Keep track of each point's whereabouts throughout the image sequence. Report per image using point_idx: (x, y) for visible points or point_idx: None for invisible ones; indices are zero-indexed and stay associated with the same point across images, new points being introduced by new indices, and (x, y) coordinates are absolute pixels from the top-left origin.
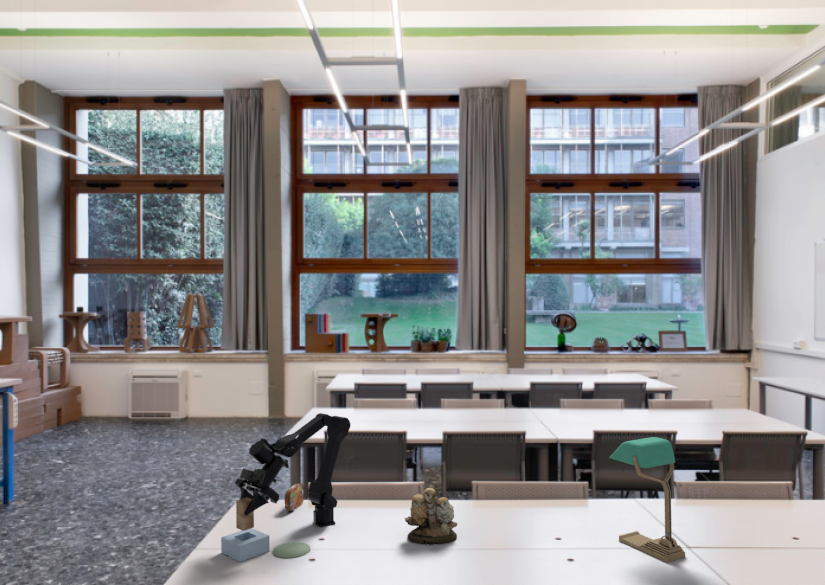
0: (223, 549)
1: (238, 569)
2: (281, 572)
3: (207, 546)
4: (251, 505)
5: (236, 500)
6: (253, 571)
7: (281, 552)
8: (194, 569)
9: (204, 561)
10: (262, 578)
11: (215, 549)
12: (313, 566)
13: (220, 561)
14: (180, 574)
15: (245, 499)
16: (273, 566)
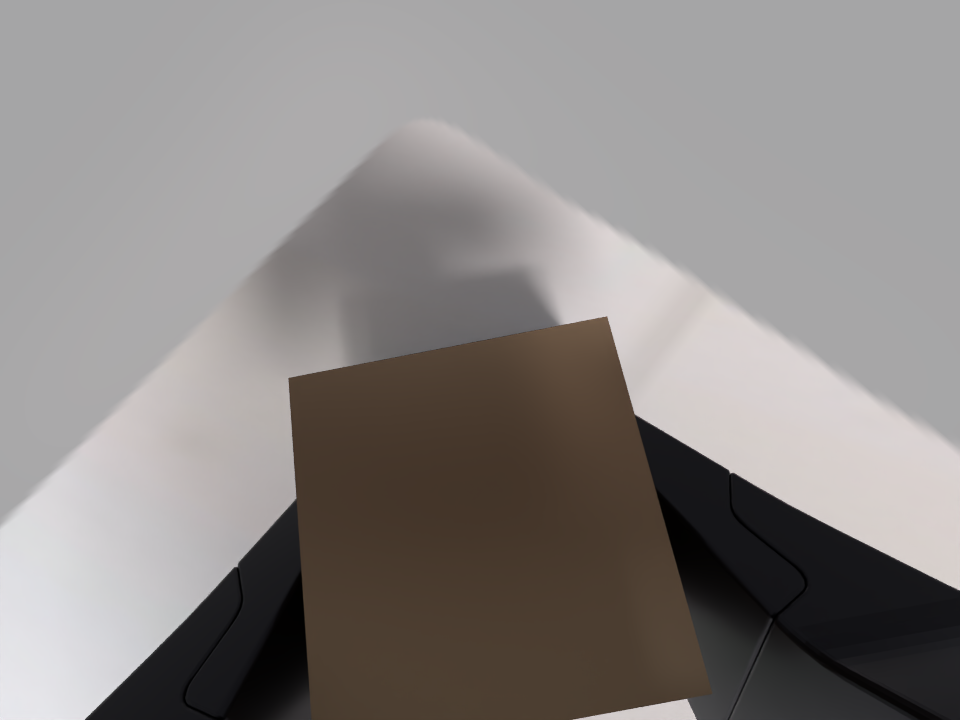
0: None
1: (306, 344)
2: (104, 510)
3: (715, 318)
4: (249, 570)
5: (592, 319)
6: (228, 395)
7: None
8: (455, 184)
9: (516, 244)
10: (127, 398)
11: (642, 339)
12: (13, 715)
13: (462, 306)
14: (445, 126)
15: (519, 557)
16: (199, 510)
